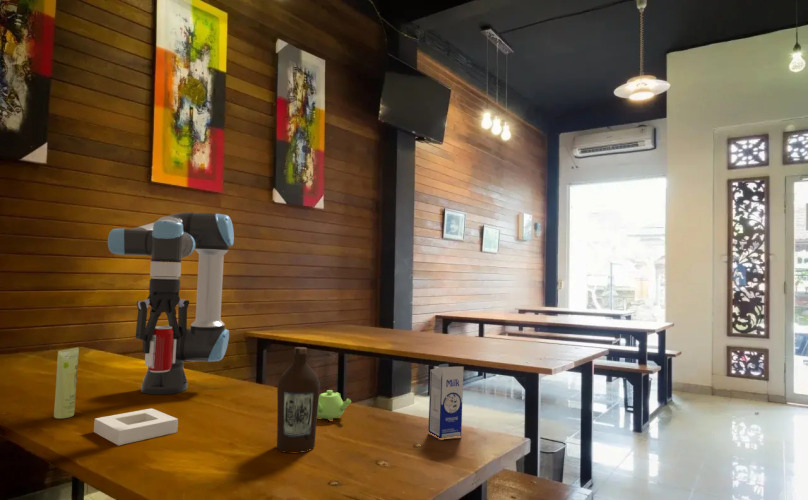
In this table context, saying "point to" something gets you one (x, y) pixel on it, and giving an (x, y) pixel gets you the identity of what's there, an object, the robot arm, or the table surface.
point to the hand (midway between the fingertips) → (160, 363)
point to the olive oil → (297, 405)
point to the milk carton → (446, 401)
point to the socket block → (135, 426)
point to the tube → (66, 383)
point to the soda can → (162, 349)
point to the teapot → (331, 405)
